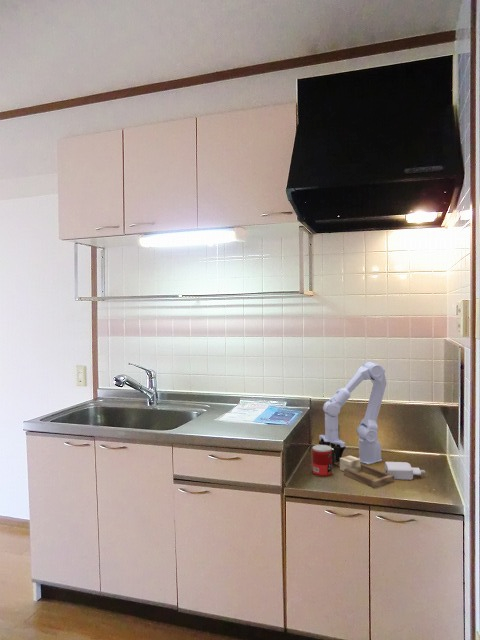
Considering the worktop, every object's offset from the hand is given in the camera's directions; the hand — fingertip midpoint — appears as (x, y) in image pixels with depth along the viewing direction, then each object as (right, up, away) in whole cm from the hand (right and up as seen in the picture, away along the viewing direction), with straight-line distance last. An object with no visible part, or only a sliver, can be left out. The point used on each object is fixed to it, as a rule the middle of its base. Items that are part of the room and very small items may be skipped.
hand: (332, 459), depth 207 cm
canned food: (-6, -3, -11) cm, 13 cm away
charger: (+27, -2, -17) cm, 31 cm away
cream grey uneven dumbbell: (+3, -2, -5) cm, 7 cm away
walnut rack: (+11, -2, -17) cm, 21 cm away
